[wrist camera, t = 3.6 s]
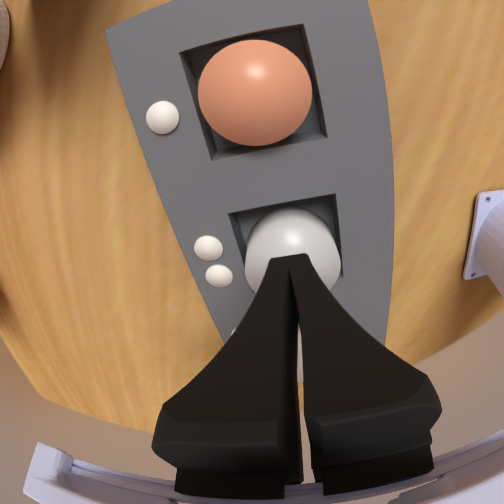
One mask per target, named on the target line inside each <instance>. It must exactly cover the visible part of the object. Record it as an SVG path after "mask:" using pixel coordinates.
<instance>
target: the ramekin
mask: <svg viewBox="0 0 504 504" xmlns="http://www.w3.org/2000/svg"><path fill="white" fill-rule="evenodd" d="M9 34H10V20H9V14H8V11H7V8H6V5H5V4H4V1H2V0H0V70H1V67H2V65H3V62H4V59H5V55H6V52H7V47H8V42H9Z"/></svg>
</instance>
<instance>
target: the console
mask: <svg viewBox="0 0 504 504" xmlns="http://www.w3.org/2000/svg"><path fill="white" fill-rule="evenodd" d="M104 32H105V35H106V39H107V42H108V46H109V50H110V53H111V56H112V60H113V63H114V67H115V70H116V73H117V76H118V80H119V83H120V86H121V89H122V92H123V95H124V98H125V101H126V105H127V108H128V111H129V114H130V116H131V119H132V122H133V125H134V128H135V131H136V134H137V137H138V140H139V142H140V145H141V148H142V151H143V153H144V156H145V159H146V162H147V164H148V167H149V170H150V172H151V175H152V178H153V180H154V183H155V185H156V188H157V191H158V193H159V196H160V198H161V201H162V203H163V206H164V208H165V211H166V213H167V216H168V218H169V221H170V223H171V226H172V228H173V230H174V233H175V235H176V238H177V240H178V242H179V245H180V247H181V249H182V252H183V254H184V256H185V259H186V261H187V263H188V266H189V268H190V270H191V272H192V275H193V277H194V279H195V281H196V284H197V286H198V288H199V290H200V292H201V295H202V297H203V299H204V301H205V303H206V305H207V308H208V310H209V312H210V314H211V316H212V318H213V320H214V322H215V325H216V327H217V329H218V331H219V333H220V335H221V337H222V339H223V341H224V343H226V342H227V341H228V339H229V338H230V337H231V335H232V334H233V332H234V331H235V330H236V328H237V327H238V325H239V324H240V322H241V320H242V319H243V317H244V315H245V314H246V312H247V310H248V308H249V306H250V305H251V303H252V301H253V299H254V297H255V295H256V293H255V292H254V291H253V289H252V288H251V287H250V285H249V284H248V281H247V279H246V275H245V262H246V251H247V240H248V236H249V233H250V231H251V229H252V227H253V226H254V225H255V223H256V222H257V221H258V220H259V219H260V218H262V217H263V216H264V215H266V214H268V213H270V212H272V211H274V210H277V209H281V208H288V207H296V208H303V209H307V210H309V211H312V212H314V213H316V214H317V215H319V216H320V217H321V218H322V219H323V220H324V221H325V222H326V223H327V224H328V226H329V228H330V230H331V233H332V236H333V239H334V242H335V244H336V247H337V251H338V254H339V257H340V262H341V268H340V273H339V276H338V279H337V281H336V282H335V284H334V285H333V287H332V288H331V289H330V290H329V291H330V292H331V293H332V295H333V296H334V297H335V298H336V300H337V301H338V302H339V303H340V304H341V306H342V307H343V308H344V309H345V310H346V311H347V312H348V313H349V315H350V316H351V317H352V318H353V319H354V320H355V321H356V322H357V323H358V324H359V325H360V326H361V327H362V328H364V329H365V330H366V331H367V332H368V333H369V334H370V335H371V336H373V337H374V338H375V339H376V340H377V341H379V342H380V343H381V344H382V345H383V346H385V339H386V332H387V324H388V316H389V306H390V296H391V284H392V270H393V251H394V174H393V155H392V141H391V130H390V120H389V111H388V102H387V95H386V88H385V81H384V75H383V69H382V63H381V58H380V52H379V47H378V43H377V38H376V33H375V29H374V25H373V20H372V16H371V12H370V8H369V5H368V1H367V0H173V1H171V2H168V3H165V4H162V5H160V6H157V7H155V8H152V9H150V10H147V11H145V12H143V13H140V14H138V15H136V16H133V17H131V18H129V19H127V20H125V21H123V22H120V23H118V24H116V25H114V26H112V27H110V28H108V29H106V30H104ZM246 40H264V41H269V42H273V43H275V44H278V45H280V46H282V47H284V48H286V49H288V50H289V51H290V52H292V53H293V54H294V55H295V56H296V57H297V58H298V59H299V60H300V61H301V62H302V64H303V65H304V67H305V69H306V70H307V73H308V75H309V78H310V81H311V86H312V100H311V105H310V109H309V111H308V114H307V116H306V118H305V119H304V121H303V123H302V124H301V125H300V126H299V127H298V128H297V129H296V130H295V131H294V132H293V133H292V134H291V135H289V136H288V137H286V138H284V139H282V140H280V141H278V142H275V143H272V144H268V145H262V146H248V145H242V144H238V143H235V142H232V141H230V140H228V139H226V138H224V137H223V136H221V135H220V134H218V133H217V132H216V131H215V130H214V129H213V128H212V127H211V126H210V125H209V123H208V122H207V121H206V119H205V117H204V116H203V114H202V111H201V108H200V105H199V101H198V85H199V80H200V77H201V74H202V72H203V70H204V68H205V66H206V65H207V63H208V62H209V61H210V59H211V58H212V57H213V56H214V55H215V54H217V53H218V52H219V51H220V50H222V49H224V48H225V47H227V46H229V45H231V44H234V43H237V42H240V41H246Z"/></svg>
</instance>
